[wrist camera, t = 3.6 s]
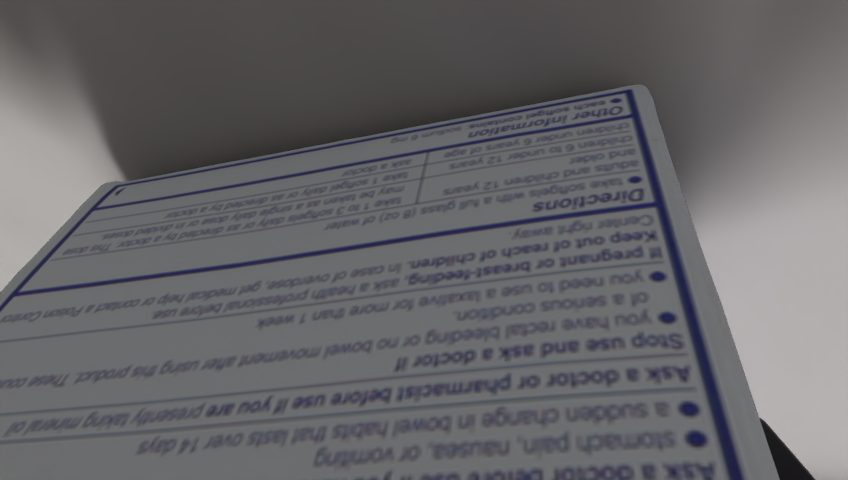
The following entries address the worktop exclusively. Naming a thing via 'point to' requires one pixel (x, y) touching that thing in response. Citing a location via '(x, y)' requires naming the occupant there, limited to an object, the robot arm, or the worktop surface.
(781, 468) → the robot arm
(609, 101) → the medicine box
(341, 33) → the worktop surface
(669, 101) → the worktop surface
